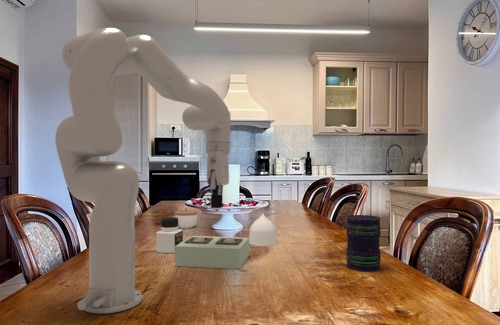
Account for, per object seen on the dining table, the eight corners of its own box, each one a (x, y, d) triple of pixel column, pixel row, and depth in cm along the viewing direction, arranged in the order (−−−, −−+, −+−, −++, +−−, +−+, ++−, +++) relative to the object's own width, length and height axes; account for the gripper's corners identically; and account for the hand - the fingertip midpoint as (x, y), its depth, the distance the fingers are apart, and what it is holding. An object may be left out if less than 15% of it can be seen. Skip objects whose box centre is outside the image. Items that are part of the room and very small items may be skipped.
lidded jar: (201, 227, 178) (201, 207, 178) (186, 230, 168) (186, 210, 168) (185, 225, 183) (185, 206, 183) (169, 228, 174) (169, 208, 174)
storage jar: (357, 273, 103) (357, 220, 103) (339, 264, 112) (339, 215, 112) (388, 270, 106) (387, 219, 106) (368, 261, 115) (368, 214, 115)
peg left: (202, 261, 116) (202, 240, 116) (191, 260, 116) (191, 240, 116) (206, 258, 119) (205, 238, 119) (195, 257, 120) (195, 237, 120)
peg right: (233, 262, 114) (233, 241, 114) (222, 261, 114) (222, 241, 114) (236, 259, 117) (235, 239, 117) (225, 258, 118) (225, 238, 118)
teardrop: (266, 239, 150) (266, 209, 150) (282, 244, 141) (282, 212, 141) (243, 242, 144) (243, 211, 144) (259, 247, 135) (259, 215, 135)
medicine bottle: (175, 253, 126) (175, 218, 126) (155, 252, 127) (155, 218, 127) (183, 248, 133) (182, 215, 133) (164, 248, 134) (164, 215, 134)
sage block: (239, 269, 107) (239, 247, 107) (175, 266, 111) (175, 244, 111) (249, 255, 123) (249, 236, 123) (192, 253, 126) (192, 234, 126)
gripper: (223, 147, 106) (222, 210, 105) (234, 150, 120) (233, 206, 120) (198, 146, 107) (197, 209, 106) (212, 150, 122) (211, 205, 121)
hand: (216, 207), depth 113 cm, fingers closed
